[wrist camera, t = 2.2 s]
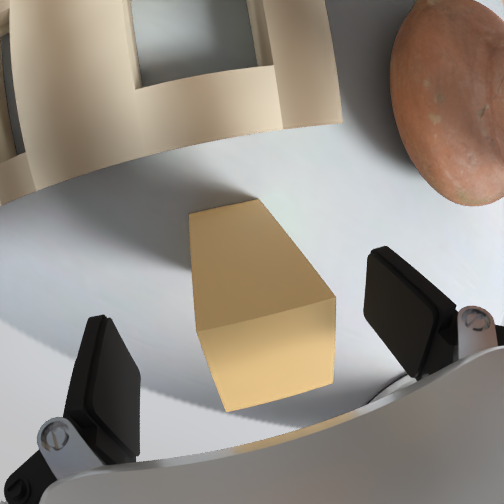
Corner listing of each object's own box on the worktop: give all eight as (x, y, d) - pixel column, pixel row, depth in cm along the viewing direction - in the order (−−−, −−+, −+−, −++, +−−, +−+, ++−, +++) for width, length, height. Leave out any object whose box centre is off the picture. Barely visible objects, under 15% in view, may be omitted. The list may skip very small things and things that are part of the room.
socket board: (285, -59, 11) (302, -82, 8) (318, 120, 16) (343, 122, 13) (-51, 48, 8) (-77, 45, 5) (-25, 212, 14) (-50, 229, 11)
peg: (258, 198, 17) (335, 297, 9) (267, 260, 19) (333, 383, 10) (188, 213, 17) (196, 331, 8) (204, 275, 19) (226, 412, 10)
